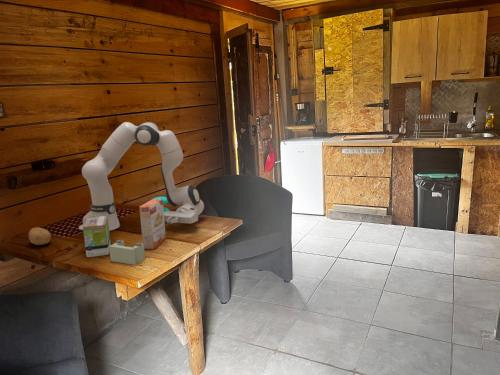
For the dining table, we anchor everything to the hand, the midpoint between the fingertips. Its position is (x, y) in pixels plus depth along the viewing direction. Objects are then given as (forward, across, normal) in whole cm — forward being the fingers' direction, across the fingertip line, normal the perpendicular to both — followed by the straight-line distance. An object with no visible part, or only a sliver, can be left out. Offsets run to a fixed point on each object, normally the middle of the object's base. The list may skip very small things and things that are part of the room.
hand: (169, 221), depth 198 cm
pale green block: (+32, 0, +7) cm, 33 cm away
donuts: (-30, -27, +7) cm, 41 cm away
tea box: (+27, -21, +7) cm, 35 cm away
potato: (+30, -56, +7) cm, 64 cm away
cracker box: (+12, 0, +7) cm, 14 cm away
